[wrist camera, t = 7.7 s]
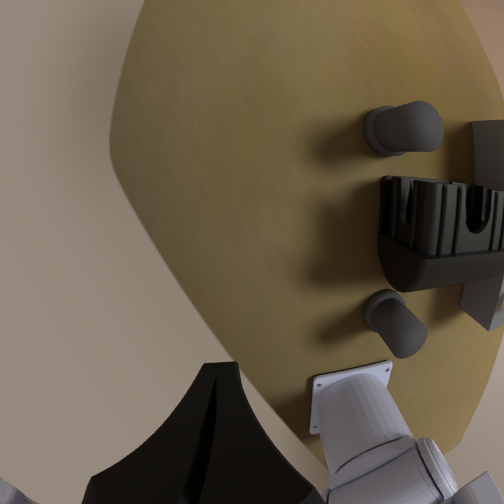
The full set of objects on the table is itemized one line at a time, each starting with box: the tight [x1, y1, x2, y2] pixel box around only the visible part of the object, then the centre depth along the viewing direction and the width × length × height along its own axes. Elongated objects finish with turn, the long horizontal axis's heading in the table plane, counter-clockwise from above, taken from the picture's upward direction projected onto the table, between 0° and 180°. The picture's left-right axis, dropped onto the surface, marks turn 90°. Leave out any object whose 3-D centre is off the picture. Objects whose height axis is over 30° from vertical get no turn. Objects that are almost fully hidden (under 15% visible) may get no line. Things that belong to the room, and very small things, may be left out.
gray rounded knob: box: [364, 101, 444, 156], centre depth 14 cm, size 4×4×5 cm
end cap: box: [378, 176, 504, 293], centre depth 16 cm, size 10×7×7 cm
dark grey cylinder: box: [363, 289, 427, 359], centre depth 19 cm, size 4×4×5 cm
